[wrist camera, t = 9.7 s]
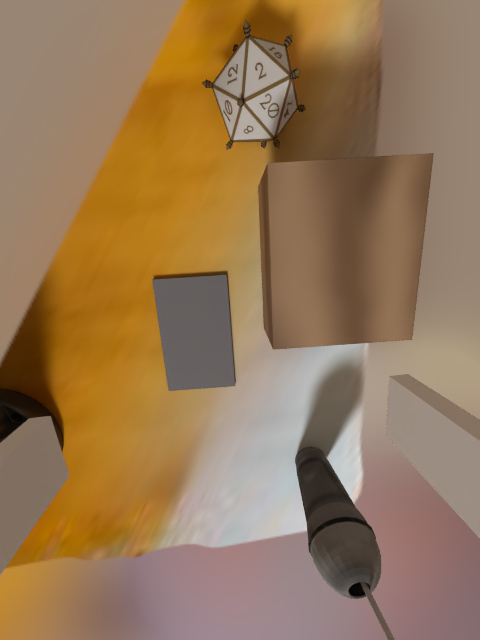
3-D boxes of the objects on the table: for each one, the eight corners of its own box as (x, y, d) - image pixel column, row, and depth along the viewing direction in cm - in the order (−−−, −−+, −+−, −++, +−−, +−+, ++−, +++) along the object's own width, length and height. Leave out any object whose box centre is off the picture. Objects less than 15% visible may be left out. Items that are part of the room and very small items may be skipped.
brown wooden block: (263, 327, 26) (273, 349, 20) (258, 187, 22) (267, 163, 16) (371, 320, 26) (411, 339, 20) (381, 179, 22) (433, 153, 17)
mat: (169, 389, 35) (168, 390, 34) (153, 279, 31) (152, 279, 30) (235, 384, 35) (235, 386, 34) (226, 274, 31) (226, 274, 31)
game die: (266, 129, 31) (343, 96, 23) (228, 181, 29) (297, 163, 22) (220, 38, 25) (304, -46, 17) (170, 97, 23) (237, 33, 16)
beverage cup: (287, 439, 37) (348, 637, 18) (336, 439, 38) (447, 634, 18) (284, 479, 39) (335, 698, 20) (330, 478, 39) (426, 695, 20)
